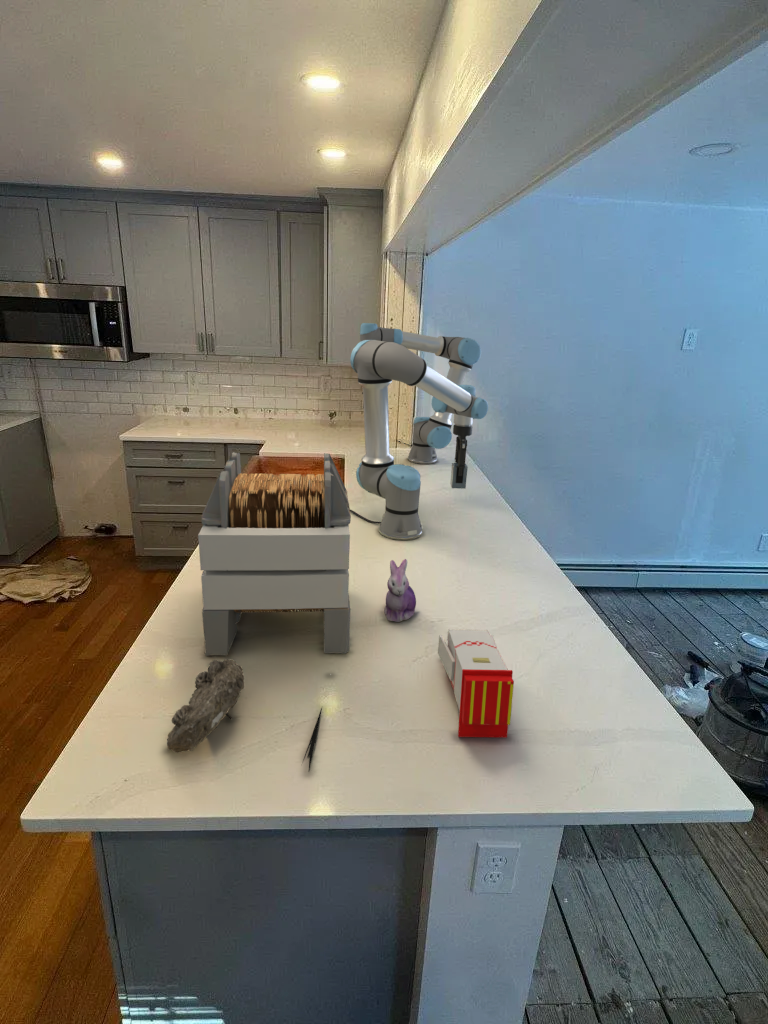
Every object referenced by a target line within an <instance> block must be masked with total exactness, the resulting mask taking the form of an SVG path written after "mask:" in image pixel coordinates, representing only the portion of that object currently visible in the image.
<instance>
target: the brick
mask: <svg viewBox="0 0 768 1024" xmlns="http://www.w3.org/2000/svg"><path fill="white" fill-rule="evenodd" d="M456 466H458V463H455V462H452V463H451V470H450V482H449V484H450V487H451V489H461V490H462V489H463V490H464V489H465V490H466V488H467V478H468V468H469V467H468V465H467V463H466V462H465V468H464V473H463V483H456V473H457V468H456Z"/></svg>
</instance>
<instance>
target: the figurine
mask: <svg viewBox="0 0 768 1024" xmlns="http://www.w3.org/2000/svg"><path fill="white" fill-rule="evenodd" d="M407 567H408V559H406V558H404V559H403V560H402V561H401V563H400V565H399V566H398V565H397V563H396V562H395V561H394V560H393V559H391V560H390V561H389V570H390V576H389V578H388V579H387V589H388V591H387V592H386V594H385V595H386V596H385V607H384V615H385V616H386V620H387V621H391V622H395V623H400V622H402V621H406V620H409V619H410V618H411V617H413V616H414V615H415V610H416V606H417V597H416V593H415V591H414V590H413V587H411V586H410V582H409V579H408V577H407V574H406V571H407Z"/></svg>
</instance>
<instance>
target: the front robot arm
mask: <svg viewBox="0 0 768 1024" xmlns="http://www.w3.org/2000/svg"><path fill="white" fill-rule="evenodd" d="M350 366H351V369H352V370H353V371H354V372H355V373H356V374H357V383H358V384H359V385H360V386H361V387H362V392H363V394H362V407H363V406H364V409H363V425H364V427H363V429H364V452H365V454H364V455H363V456H362V457H361V462H360V463H359V464H358V467H357V468H356V473H355V478H356V481H357V483H358V485H359V486H360V488H361V489H363V490H365V491H366V492H367V493H369V494H372V495H375V496H378V497H380V498H382V499H385V504H384V505H385V507H384V508H385V509H384V513H383V515H382V519H381V521H379V520H378V521H377V520H376V521H374V520H370V519H369V518H366V517H365V516H362V515H361V514H359V513H358V512H356V511H354V510H352V509H350V513H352V514H354V515H356V516H357V517H359V518H360V519H362V520H364V521H366V522H368V523H371V524H379V527H378V533H379V534H380V535H381V536H382V537H385V538H387V539H389V540H395V541H410V540H415V539H418V538H420V537H421V536H422V535H423V525H422V524H421V518H420V515H419V507H420V506H419V505H420V496H421V495H420V494H421V482H422V481H421V473H420V471H419V470H417V468H415V467H413V466H410V465H406V464H401V463H400V464H399V463H397V464H395V457H394V456H393V455H392V454H391V452H390V421H389V386H390V385H391V384H392V382H393V381H396V382H400V383H403V384H405V385H407V386H409V387H417V389H420V390H422V391H423V392H425V393H426V394H428V395H430V396H431V408H432V410H433V411H434V413H435V412H437V413H444V412H448V413H452V415H453V425H452V426H453V427H452V433H453V434H454V435H455V436H456V438H455V452H454V453H455V455H454V463H458V466H456V468H457V473H456V483H463V473H464V468H465V463H466V459H467V458H466V457H467V448H468V439H467V437H469V436H472V435H473V424H474V420H475V419H476V420H482V419H484V418H485V417H486V416H487V414H488V411H489V403H488V401H487V400H486V399H485V398H482V397H478V396H476V395H477V394H476V389H477V388H476V387H475V386H474V385H472V384H463V385H456V384H454V383H453V382H451V381H450V380H448V379H447V377H445V376H444V375H442V374H441V373H439V372H438V371H436V370H435V369H433V367H432V368H431V367H430V366H429V365H428V364H427V361H426V360H425V359H424V358H423V357H420V355H418V354H416V353H414V352H413V351H412V350H411V349H407V348H405V347H404V346H402V345H400V344H397V343H394V342H385V341H378V340H364V341H361V342H360V341H359V342H358V343H357V344H356V345H355V346H354V347H353V349H352V351H351V354H350ZM453 434H452V435H453Z"/></svg>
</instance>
